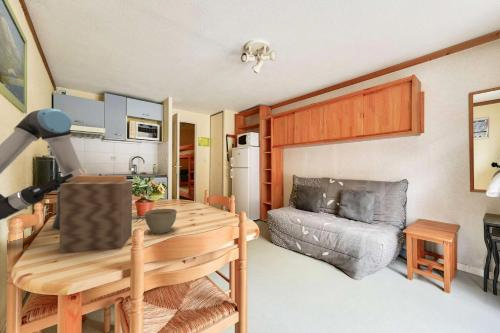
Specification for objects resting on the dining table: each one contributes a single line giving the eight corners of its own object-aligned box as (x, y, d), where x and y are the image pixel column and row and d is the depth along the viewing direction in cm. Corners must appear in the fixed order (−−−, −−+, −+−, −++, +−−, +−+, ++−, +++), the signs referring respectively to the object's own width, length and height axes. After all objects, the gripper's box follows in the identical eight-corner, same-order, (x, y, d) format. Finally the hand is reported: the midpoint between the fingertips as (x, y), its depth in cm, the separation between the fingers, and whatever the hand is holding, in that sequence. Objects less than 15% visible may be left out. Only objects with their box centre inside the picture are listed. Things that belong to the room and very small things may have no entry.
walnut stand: (59, 253, 86) (60, 184, 85) (80, 238, 103) (81, 180, 103) (121, 248, 92) (122, 183, 92) (131, 235, 109) (132, 180, 109)
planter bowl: (182, 228, 122) (182, 209, 122) (164, 237, 107) (164, 216, 106) (157, 225, 126) (158, 207, 126) (137, 234, 111) (137, 213, 110)
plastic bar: (63, 181, 95) (63, 175, 95) (67, 180, 99) (67, 175, 99) (124, 181, 102) (124, 176, 102) (126, 180, 106) (126, 175, 106)
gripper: (45, 201, 102) (95, 176, 107) (18, 208, 85) (78, 179, 91) (35, 187, 101) (86, 163, 106) (6, 192, 84) (68, 164, 90)
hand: (83, 171), depth 99 cm, fingers open, 4 cm apart
